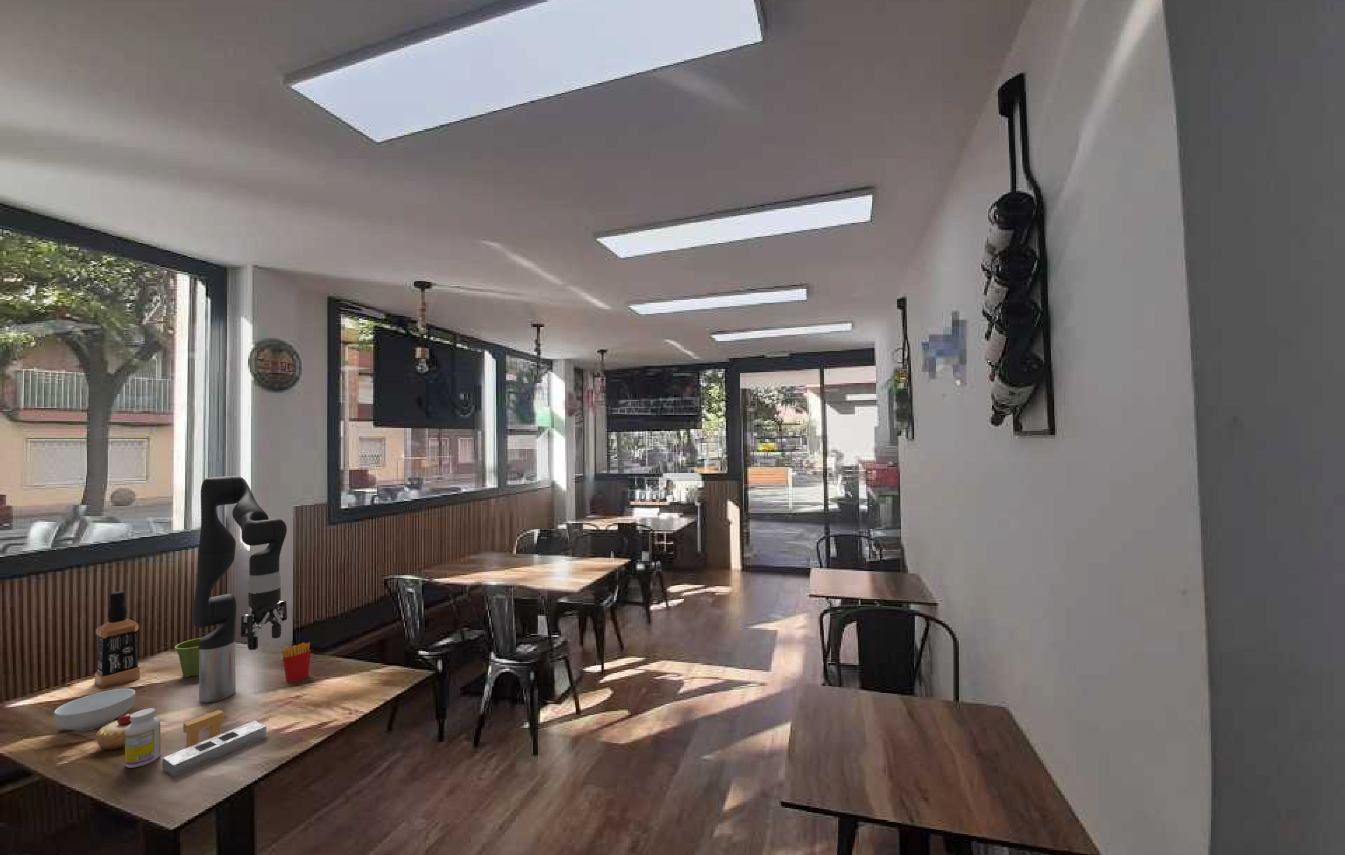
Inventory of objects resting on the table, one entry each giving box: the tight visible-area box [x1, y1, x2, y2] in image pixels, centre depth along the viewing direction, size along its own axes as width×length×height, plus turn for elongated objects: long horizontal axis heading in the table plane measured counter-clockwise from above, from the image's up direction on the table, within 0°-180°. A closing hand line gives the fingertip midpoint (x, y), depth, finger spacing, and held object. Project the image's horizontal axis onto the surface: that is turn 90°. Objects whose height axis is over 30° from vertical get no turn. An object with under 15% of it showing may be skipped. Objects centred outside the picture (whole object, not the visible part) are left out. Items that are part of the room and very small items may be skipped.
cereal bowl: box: [53, 688, 136, 732], centre depth 159 cm, size 17×17×7 cm
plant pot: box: [174, 637, 202, 678], centre depth 194 cm, size 12×12×11 cm
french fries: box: [281, 642, 312, 683], centre depth 187 cm, size 8×4×12 cm, turn 147°
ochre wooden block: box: [182, 709, 225, 748], centre depth 148 cm, size 3×8×6 cm, turn 151°
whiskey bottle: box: [94, 590, 141, 690], centre depth 190 cm, size 10×10×32 cm
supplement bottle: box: [124, 707, 162, 769], centre depth 139 cm, size 7×7×13 cm
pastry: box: [95, 708, 157, 751], centre depth 149 cm, size 12×12×9 cm
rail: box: [162, 720, 267, 778], centre depth 142 cm, size 7×20×3 cm, turn 151°
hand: (264, 643), depth 153 cm, fingers open, 8 cm apart
